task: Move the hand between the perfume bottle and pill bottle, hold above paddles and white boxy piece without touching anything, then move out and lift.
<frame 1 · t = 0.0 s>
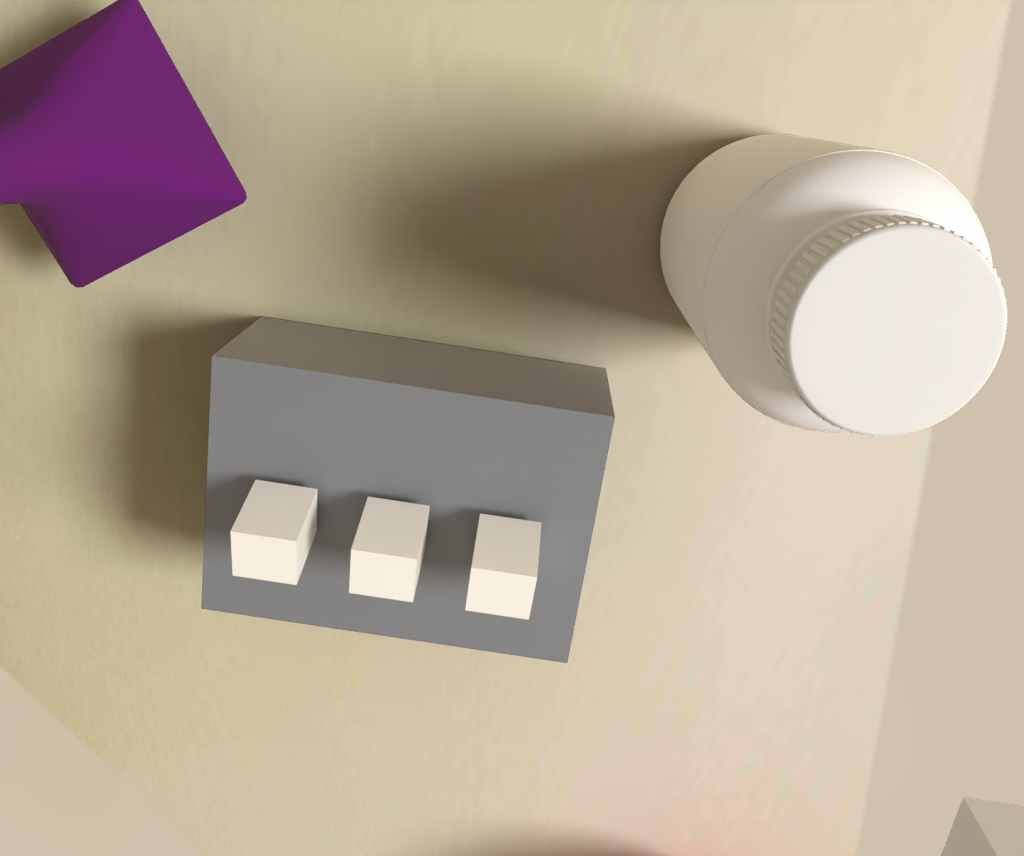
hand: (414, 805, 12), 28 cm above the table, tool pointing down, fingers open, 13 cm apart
perfume bottle: (142, 143, 37), on the table
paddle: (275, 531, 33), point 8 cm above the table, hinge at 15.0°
breaker panel: (420, 456, 40), on the table
white boxy piece: (504, 565, 33), point 8 cm above the table, hinge at 15.0°
pill bottle: (761, 238, 37), on the table
paddle middle: (390, 548, 33), point 8 cm above the table, hinge at 15.0°
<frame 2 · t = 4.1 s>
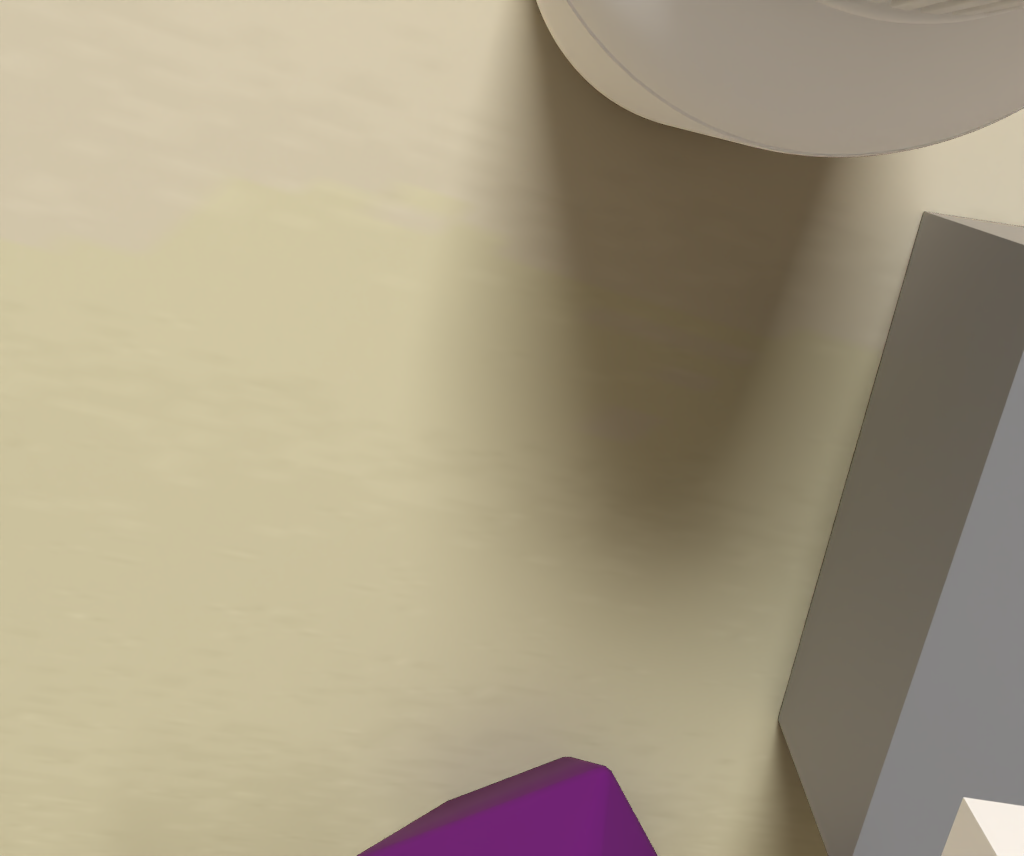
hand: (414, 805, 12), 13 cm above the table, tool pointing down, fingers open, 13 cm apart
perfume bottle: (536, 826, 28), on the table
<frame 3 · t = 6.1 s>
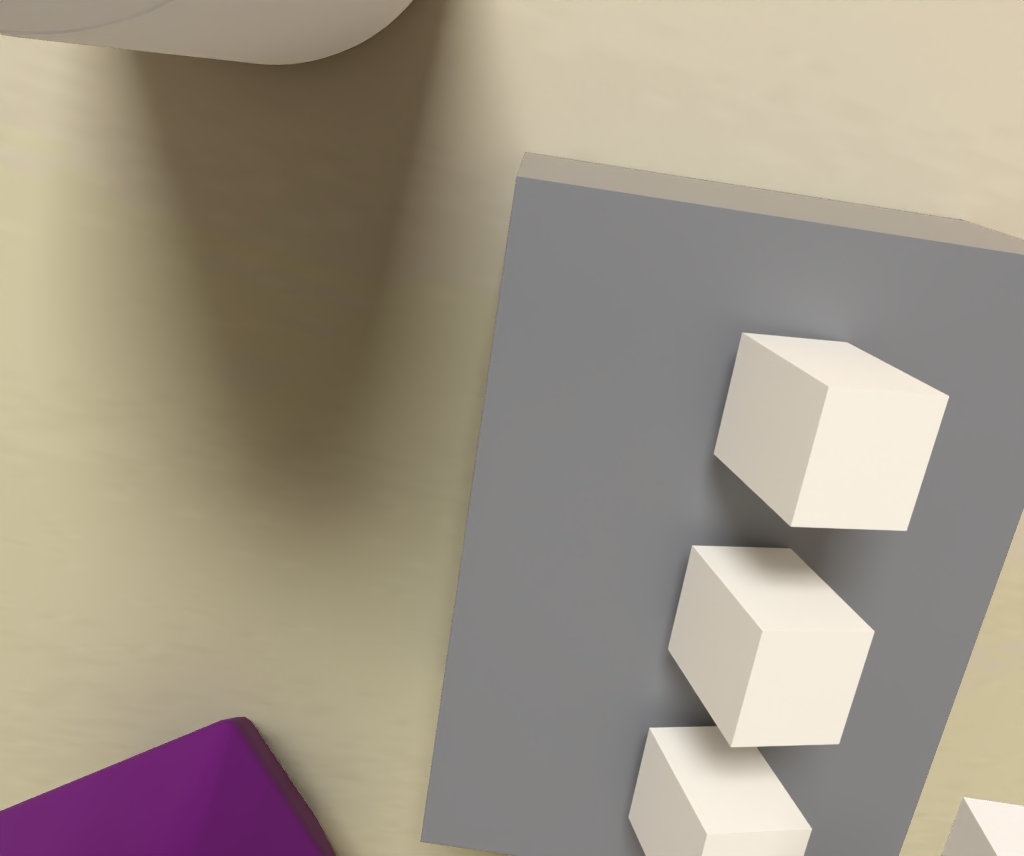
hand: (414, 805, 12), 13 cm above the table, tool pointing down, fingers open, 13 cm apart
perfume bottle: (224, 788, 28), on the table
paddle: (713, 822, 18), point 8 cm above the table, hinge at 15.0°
breaker panel: (681, 471, 24), on the table
white boxy piece: (820, 427, 15), point 8 cm above the table, hinge at 15.0°
paddle middle: (762, 640, 17), point 8 cm above the table, hinge at 15.0°
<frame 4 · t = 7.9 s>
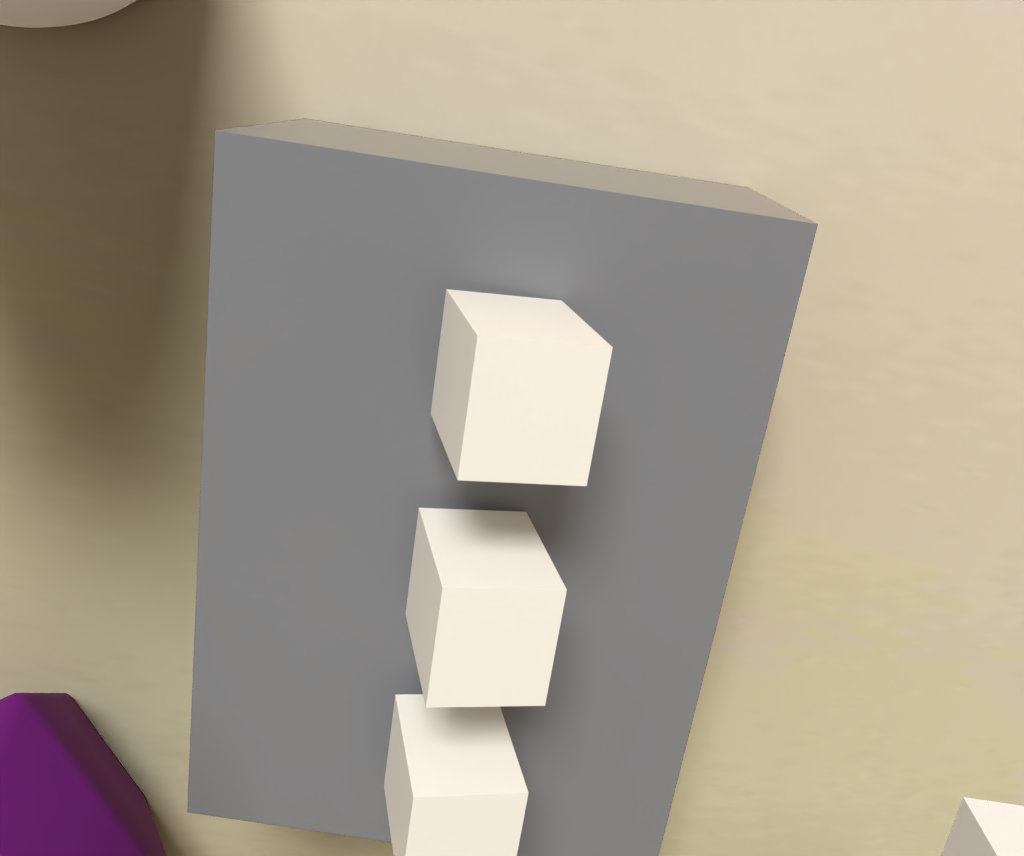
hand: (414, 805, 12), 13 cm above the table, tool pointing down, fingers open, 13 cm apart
perfume bottle: (53, 766, 28), on the table
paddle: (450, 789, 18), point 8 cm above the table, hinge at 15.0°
breaker panel: (484, 443, 24), on the table
white boxy piece: (513, 383, 15), point 8 cm above the table, hinge at 15.0°
paddle middle: (479, 602, 17), point 8 cm above the table, hinge at 15.0°
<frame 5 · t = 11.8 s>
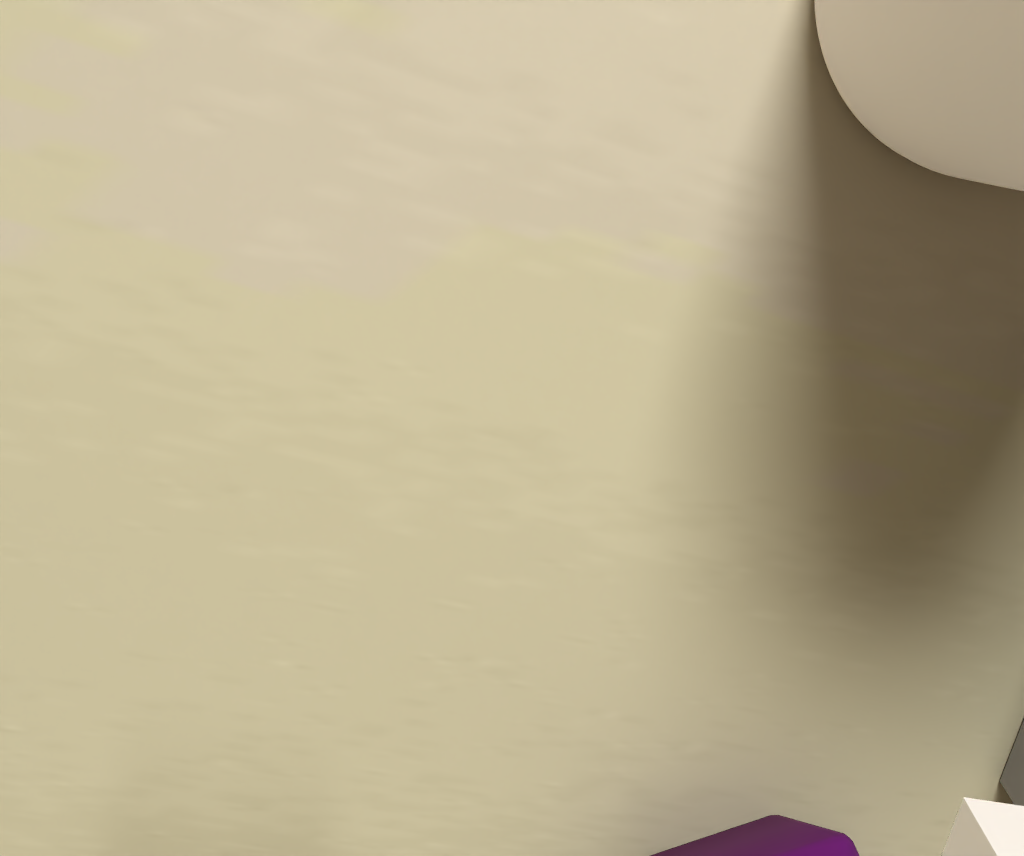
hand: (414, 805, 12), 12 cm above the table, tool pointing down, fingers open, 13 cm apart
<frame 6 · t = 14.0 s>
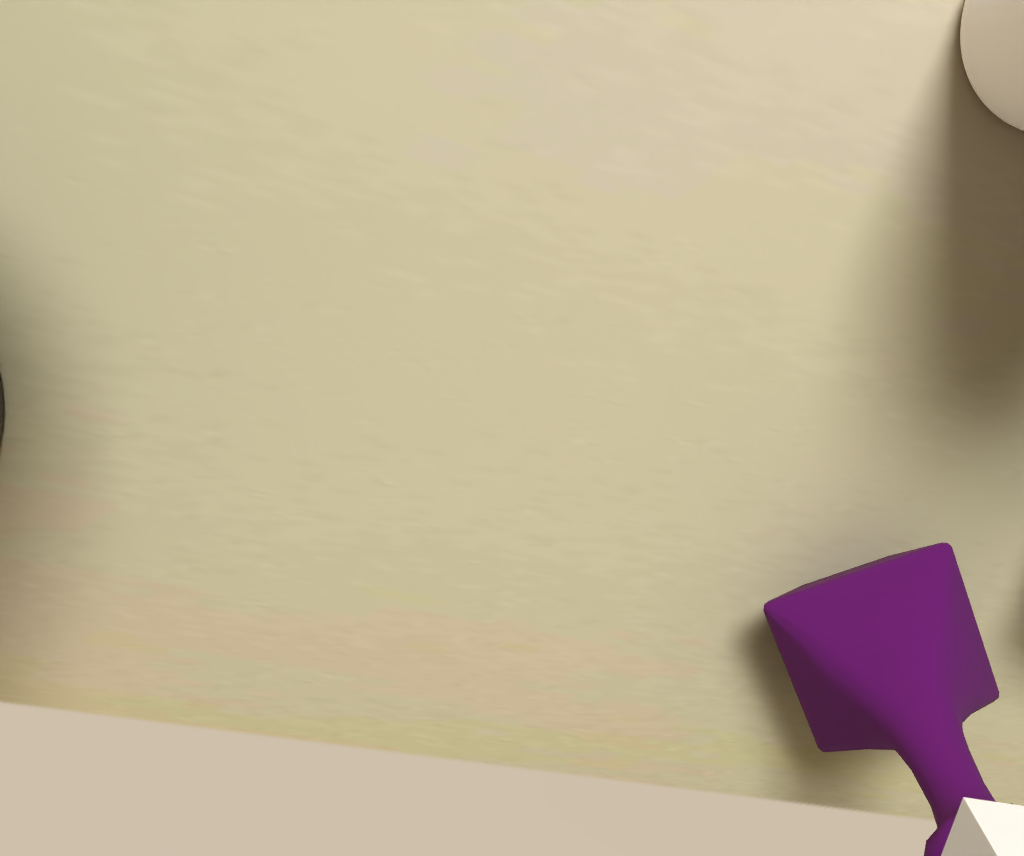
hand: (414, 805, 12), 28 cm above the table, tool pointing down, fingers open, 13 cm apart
perfume bottle: (858, 608, 42), on the table
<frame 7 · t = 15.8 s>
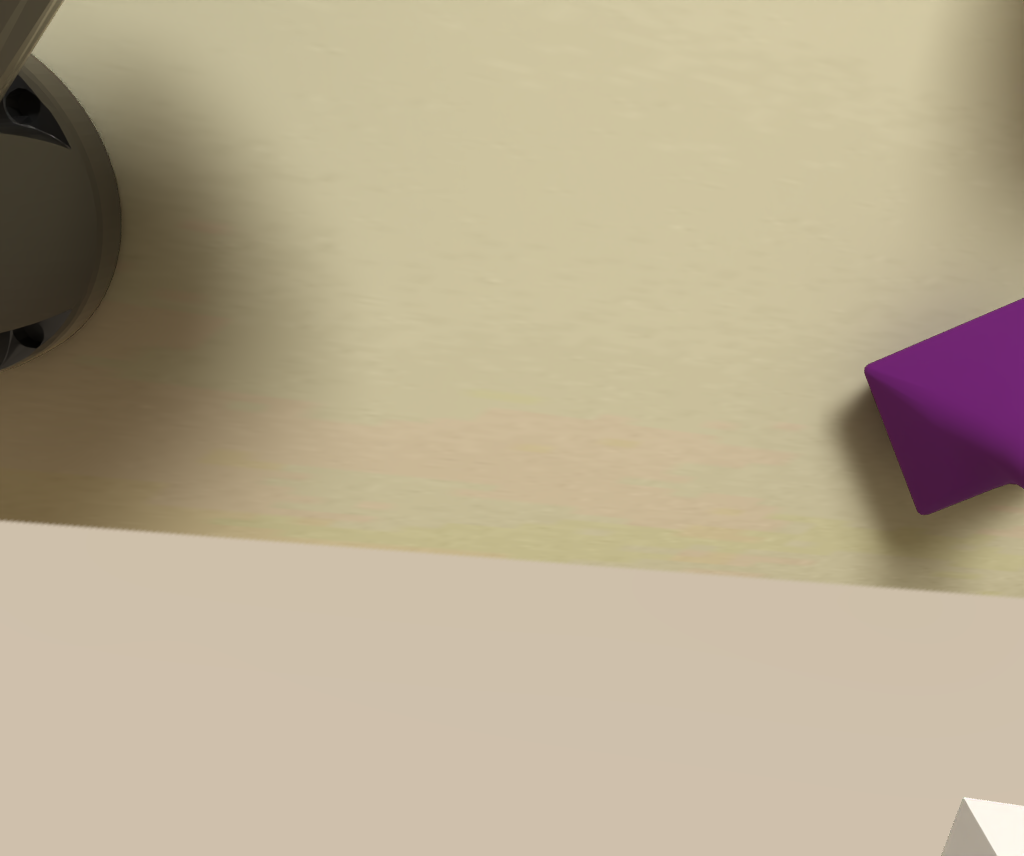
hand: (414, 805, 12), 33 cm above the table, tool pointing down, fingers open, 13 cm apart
perfume bottle: (946, 384, 44), on the table
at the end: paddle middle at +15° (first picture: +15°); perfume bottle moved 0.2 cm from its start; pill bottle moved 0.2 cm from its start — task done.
